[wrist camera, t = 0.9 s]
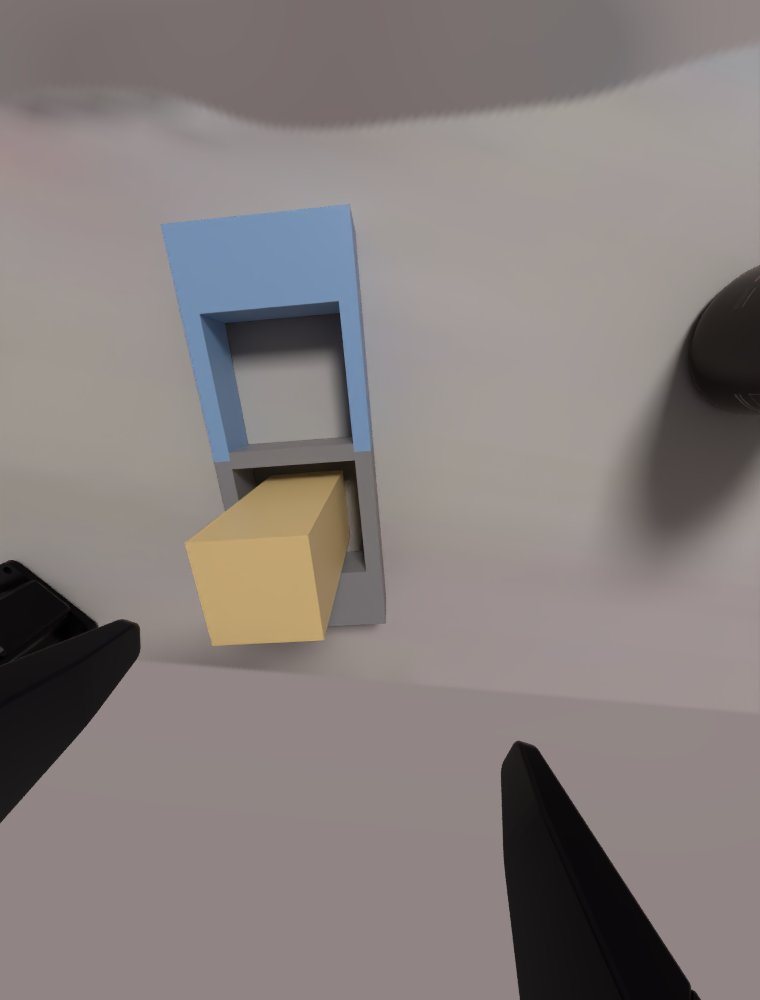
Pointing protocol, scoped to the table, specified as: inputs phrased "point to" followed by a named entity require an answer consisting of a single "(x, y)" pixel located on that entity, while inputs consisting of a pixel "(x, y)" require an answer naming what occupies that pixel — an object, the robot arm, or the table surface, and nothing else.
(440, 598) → the table surface
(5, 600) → the robot arm
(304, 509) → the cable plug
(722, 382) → the supplement bottle
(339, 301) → the duct block
